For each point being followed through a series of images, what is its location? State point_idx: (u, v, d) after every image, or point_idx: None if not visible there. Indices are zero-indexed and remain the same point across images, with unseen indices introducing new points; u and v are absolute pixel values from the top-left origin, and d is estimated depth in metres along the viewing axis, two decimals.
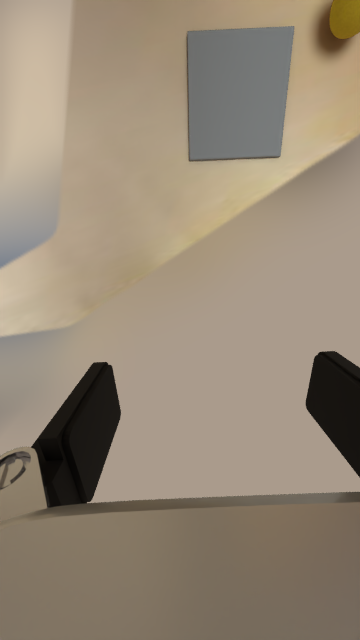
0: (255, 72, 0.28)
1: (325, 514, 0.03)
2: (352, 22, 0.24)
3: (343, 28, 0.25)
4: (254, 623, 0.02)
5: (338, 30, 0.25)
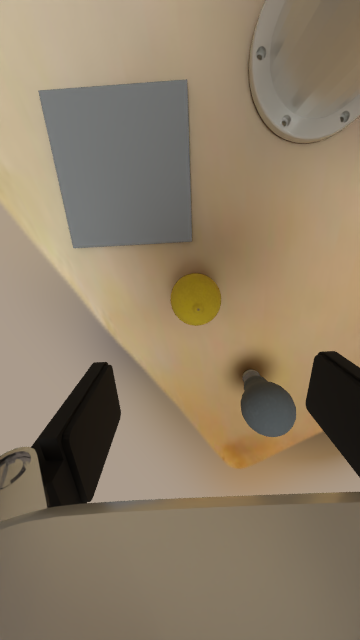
0: (150, 197, 0.22)
1: (325, 514, 0.03)
2: (171, 294, 0.22)
3: (173, 288, 0.23)
4: (254, 623, 0.02)
5: None
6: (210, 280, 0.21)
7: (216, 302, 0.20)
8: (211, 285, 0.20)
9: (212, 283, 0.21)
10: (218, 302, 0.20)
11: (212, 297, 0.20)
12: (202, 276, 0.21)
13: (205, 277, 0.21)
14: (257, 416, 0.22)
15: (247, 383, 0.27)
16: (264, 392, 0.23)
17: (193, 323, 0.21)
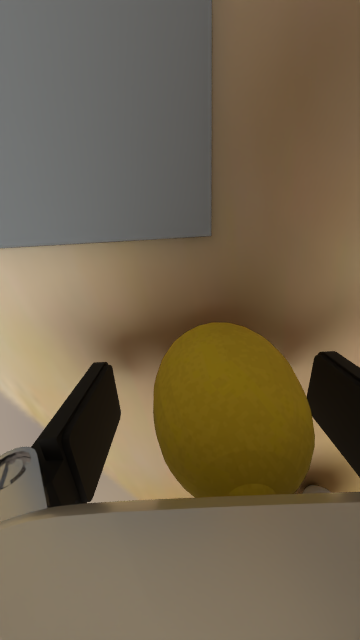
0: (95, 108, 0.08)
1: (325, 514, 0.03)
2: (155, 389, 0.08)
3: (160, 364, 0.08)
4: (254, 623, 0.02)
5: (167, 351, 0.09)
6: (278, 360, 0.07)
7: (312, 454, 0.06)
8: (291, 390, 0.06)
9: (288, 374, 0.06)
10: None
11: (303, 448, 0.05)
12: (252, 346, 0.07)
13: (262, 350, 0.07)
14: None
15: None
16: None
17: None
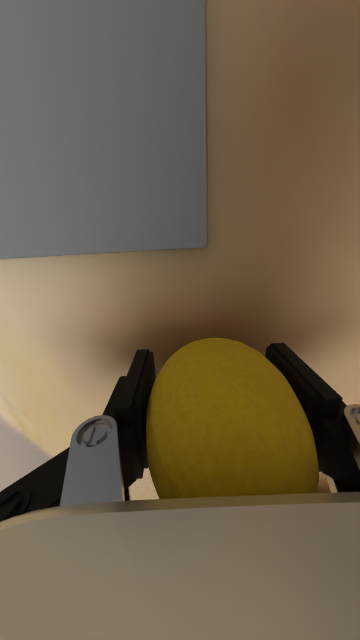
0: (84, 116, 0.07)
1: (325, 514, 0.03)
2: (147, 411, 0.07)
3: (154, 383, 0.08)
4: (254, 623, 0.02)
5: (161, 369, 0.08)
6: (278, 383, 0.06)
7: None
8: (293, 418, 0.05)
9: (289, 399, 0.06)
10: None
11: (307, 485, 0.05)
12: (250, 368, 0.06)
13: (261, 372, 0.06)
14: None
15: None
16: None
17: None
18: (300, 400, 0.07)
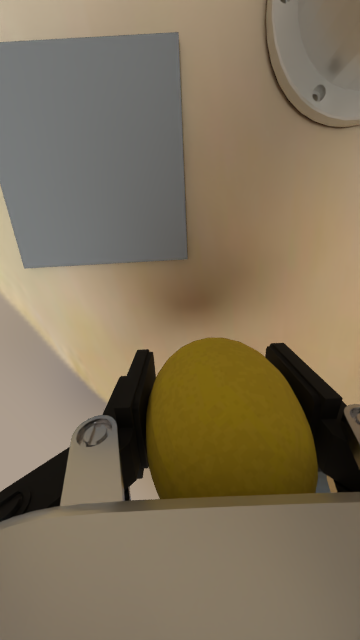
0: (129, 200, 0.16)
1: (325, 514, 0.03)
2: (147, 411, 0.07)
3: (154, 383, 0.08)
4: (254, 623, 0.02)
5: (161, 369, 0.08)
6: (278, 382, 0.06)
7: None
8: (292, 418, 0.05)
9: (289, 399, 0.06)
10: None
11: (306, 485, 0.05)
12: (250, 368, 0.06)
13: (260, 372, 0.06)
14: None
15: None
16: None
17: None
18: (300, 400, 0.07)
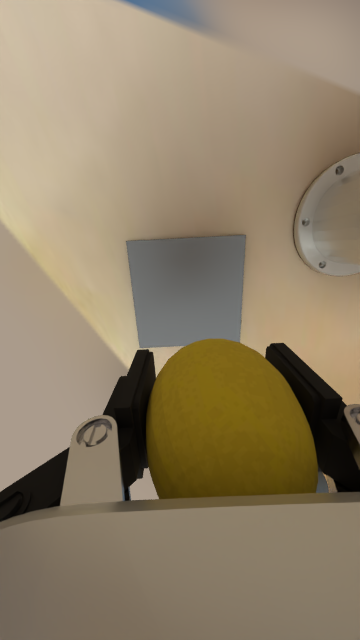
0: (208, 312, 0.27)
1: (325, 514, 0.03)
2: (147, 412, 0.07)
3: (154, 384, 0.08)
4: (254, 623, 0.02)
5: (161, 370, 0.08)
6: (278, 384, 0.06)
7: (316, 489, 0.05)
8: (293, 420, 0.05)
9: (289, 400, 0.06)
10: None
11: (306, 486, 0.05)
12: (250, 369, 0.06)
13: (260, 373, 0.06)
14: None
15: None
16: None
17: None
18: (300, 400, 0.07)
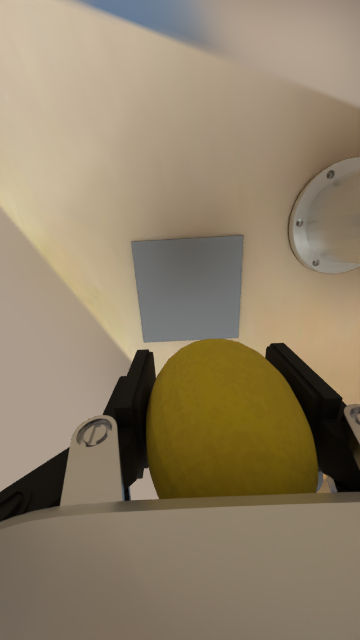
0: (208, 309, 0.29)
1: (325, 514, 0.03)
2: (147, 413, 0.07)
3: (154, 384, 0.08)
4: (255, 623, 0.02)
5: (161, 370, 0.08)
6: (278, 384, 0.06)
7: (316, 490, 0.05)
8: (293, 420, 0.05)
9: (289, 400, 0.06)
10: None
11: (307, 486, 0.05)
12: (250, 369, 0.06)
13: (261, 373, 0.06)
14: None
15: None
16: None
17: None
18: (300, 400, 0.07)
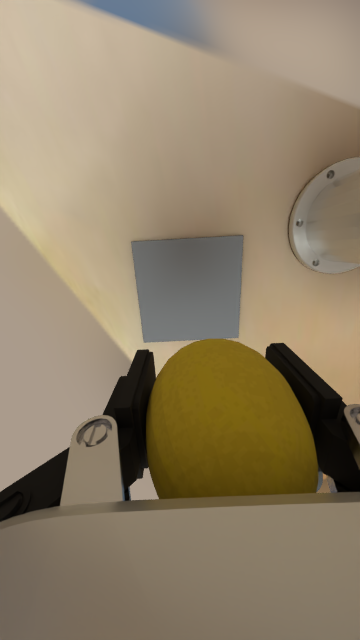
0: (208, 309, 0.29)
1: (325, 514, 0.03)
2: (147, 413, 0.07)
3: (154, 384, 0.08)
4: (255, 623, 0.02)
5: (161, 370, 0.08)
6: (278, 384, 0.06)
7: (316, 490, 0.05)
8: (293, 420, 0.05)
9: (289, 400, 0.06)
10: None
11: (307, 486, 0.05)
12: (250, 369, 0.06)
13: (261, 373, 0.06)
14: None
15: None
16: None
17: None
18: (300, 400, 0.07)
